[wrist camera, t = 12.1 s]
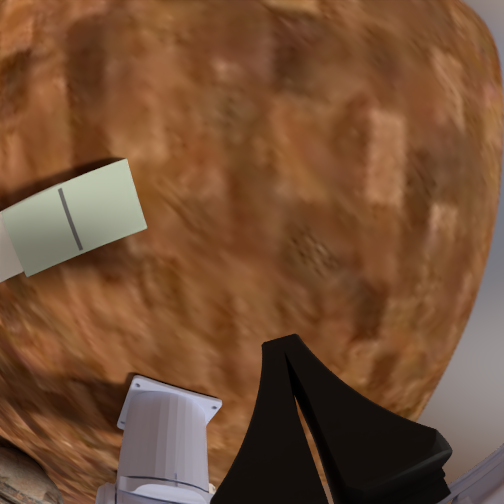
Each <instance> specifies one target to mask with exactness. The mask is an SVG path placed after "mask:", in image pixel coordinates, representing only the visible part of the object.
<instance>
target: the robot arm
mask: <svg viewBox="0 0 504 504" xmlns="http://www.w3.org/2000/svg"><path fill="white" fill-rule="evenodd" d="M294 395H295V396H294ZM295 397H296V400H297V402H298V404H299V407H300V409H301V411H302V414H303V416H304V418H305V421H306V423H307V425H308V427H309V430H310V432H311V434H312V437H313V439H314V442H315V444H316V447H317V450H318V453H319V456H320V460H321V463H322V466H323V469H324V472H325V476H326V479H327V482H328V485H329V488H330V492H331V495H332V498H333V502H334V504H446V503H447V502H449V501H451V500H452V499H453V500H452V503H451V504H504V444H503V445H502V446H500V447H499V448H498V449H497V450H495V451H494V452H493V453H492V454H490V455H489V456H488V457H487V458H485V459H484V460H483V461H481V462H480V463H479V464H478V465H476V466H475V467H473V468H472V469H471V470H469V471H468V472H466V473H465V474H463V475H462V476H460V477H459V478H457V479H456V480H455V481H453V482H451V483H450V484H448V485H447V484H446V482H445V480H444V477H445V473H444V471H443V469H442V466H443V465H444V464H445V463H446V462H447V460H448V459H449V458H450V456H451V454H452V448H451V447H450V445H449V443H448V442H447V441H446V440H445V438H444V437H443V436H442V435H441V434H440V433H439V432H438V431H437V430H436V429H434V428H431V427H427V426H424V425H421V424H419V423H416V422H413V421H411V420H408V419H406V418H403V417H401V416H399V415H397V414H395V413H393V412H391V411H389V410H387V409H385V408H383V407H381V406H379V405H377V404H375V403H374V402H372V401H370V400H369V399H367V398H366V397H364V396H362V395H361V394H359V393H358V392H357V391H355V390H354V389H352V388H351V387H350V386H348V385H347V384H346V383H344V382H343V381H342V380H341V379H339V378H338V377H337V376H336V375H335V374H334V373H332V372H331V371H330V370H329V369H328V368H327V367H326V366H325V365H324V364H323V363H322V362H321V361H320V360H319V359H318V358H317V357H316V356H315V355H314V354H313V353H312V352H311V351H310V350H309V349H308V347H307V346H306V345H305V344H304V342H303V341H302V340H301V338H300V337H299V335H297V334H292V335H288V336H285V337H281V338H278V339H274V340H270V341H267V342H264V343H263V344H262V371H261V378H260V385H259V391H258V395H257V400H256V404H255V408H254V412H253V415H252V419H251V422H250V425H249V428H248V430H247V433H246V435H245V438H244V441H243V443H242V445H241V448H240V450H239V452H238V454H237V456H236V458H235V460H234V462H233V464H232V466H231V468H230V470H229V472H228V473H227V475H226V477H225V478H224V480H223V482H222V483H221V485H220V486H219V488H218V489H217V491H216V492H215V494H211V493H209V480H208V463H207V442H206V425H207V424H208V422H209V421H210V420H211V419H212V417H213V416H214V415H215V413H216V412H217V411H218V410H219V408H220V407H221V406H222V401H221V400H220V399H217V398H213V397H209V396H205V395H201V394H198V393H194V392H190V391H187V390H183V389H180V388H177V387H173V386H170V385H167V384H164V383H161V382H158V381H155V380H152V379H149V378H146V377H143V376H140V375H136V376H134V377H133V380H132V382H131V385H130V388H129V391H128V393H127V396H126V399H125V402H124V405H123V408H122V411H121V414H120V416H119V419H118V422H117V427H118V428H120V429H123V430H124V433H123V439H122V445H121V451H120V458H119V465H118V472H117V480H116V482H115V484H111V483H105V485H102V486H100V487H99V488H98V492H97V496H96V502H95V504H329V503H328V500H327V497H326V494H325V491H324V488H323V486H322V483H321V480H320V477H319V474H318V471H317V469H316V466H315V463H314V460H313V457H312V454H311V451H310V448H309V445H308V442H307V439H306V436H305V433H304V430H303V427H302V424H301V421H300V418H299V415H298V411H297V406H296V401H295Z"/></svg>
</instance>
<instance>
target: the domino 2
mask: <svg viewBox="0 0 504 504" xmlns="http://www.w3.org/2000/svg"><path fill="white" fill-rule="evenodd" d="M1 214H2V217H3V220H4V223H5V226H6V229H7V231H8V234H9V237H10V239H11V242H12V244H13V247H14V249H15V252H16V254H17V257H18V259H19V261H20V264H21V266H22V268H23V270H24V272H25V275H26V277H29V276H31V275H33V274H36V273H38V272H40V271H42V270H45V269H47V268H49V267H52V266H54V265H56V264H58V263H61V262H63V261H66V260H68V259H70V258H73V257H75V256H77V255H80V254H82V253H85V252H87V251H90V250H92V249H95V248H97V247H100V246H102V245H105V244H107V243H110V242H112V241H115V240H117V239H120V238H123V237H125V236H128V235H131V234H133V233H136V232H139V231H141V230H144V229H147V225H146V222H145V219H144V216H143V213H142V209H141V206H140V203H139V200H138V196H137V193H136V190H135V186H134V183H133V179H132V176H131V172H130V169H129V165H128V161H127V158H126V159H123V160H121V161H118V162H115V163H112V164H109V165H107V166H104V167H101V168H99V169H96V170H93V171H91V172H88V173H86V174H83V175H81V176H78V177H76V178H73V179H71V180H69V181H66V182H64V183H62V184H59V185H57V186H55V187H53V188H50V189H48V190H46V191H44V192H42V193H40V194H37V195H35V196H33V197H31V198H29V199H27V200H25V201H23V202H21V203H19V204H17V205H15V206H13V207H11V208H9V209H8V210H6V211H4V212H2V213H1Z"/></svg>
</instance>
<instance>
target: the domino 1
mask: <svg viewBox="0 0 504 504" xmlns="http://www.w3.org/2000/svg"><path fill="white" fill-rule="evenodd" d="M62 183H64V181H63V182H61V183H58V184H56V185H54V186H52V187H49V188H47V189H45V190H43V191H41V192H38V193H36V194H34V195H32V196H30V197H28V198H26V199H24V200H22V201H20V202H18V203H16V204H14V205H12V206H10V207H8V208H6V209H4V210H3V211H1V212H0V282H2V281H4V280H6V279H8V278H10V277H12V276H15V275H17V274H19V273H21V272H23V271H24V270H23V268H22V266H21V264H20V261H19V259H18V257H17V254H16V252H15V249H14V247H13V244H12V242H11V239H10V237H9V234H8V231H7V229H6V226H5V223H4V220H3V217H2V214H1V213H2V212H4V211H6V210H8V209H9V208H11V207H13V206H15V205H17V204H19V203H21V202H23V201H25V200H27V199H29V198H31V197H33V196H35V195H37V194H40V193H42V192H44V191H46V190H48V189H50V188H53V187H55V186H57V185H59V184H62Z"/></svg>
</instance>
